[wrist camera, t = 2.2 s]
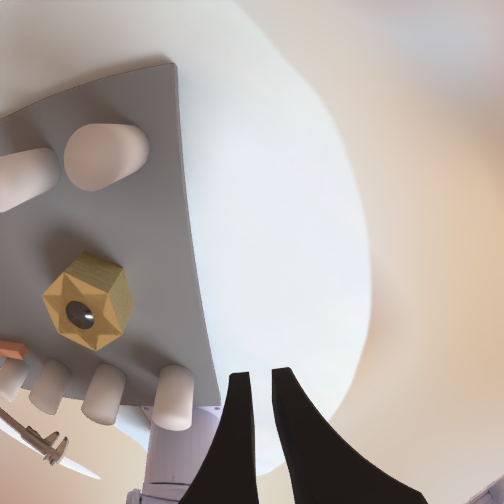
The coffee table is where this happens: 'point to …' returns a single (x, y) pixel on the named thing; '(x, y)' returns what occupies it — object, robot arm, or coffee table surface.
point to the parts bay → (13, 350)
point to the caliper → (38, 440)
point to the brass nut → (90, 301)
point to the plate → (103, 248)
